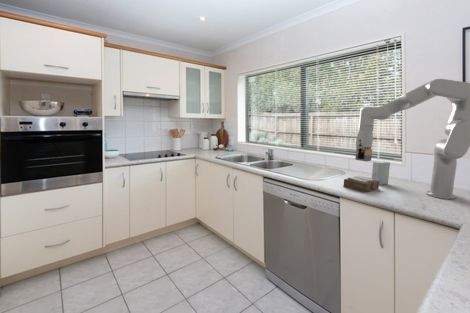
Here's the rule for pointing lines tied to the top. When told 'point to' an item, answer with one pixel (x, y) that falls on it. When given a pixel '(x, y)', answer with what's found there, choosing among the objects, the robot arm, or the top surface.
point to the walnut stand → (361, 183)
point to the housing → (365, 155)
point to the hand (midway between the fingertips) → (363, 158)
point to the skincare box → (381, 171)
